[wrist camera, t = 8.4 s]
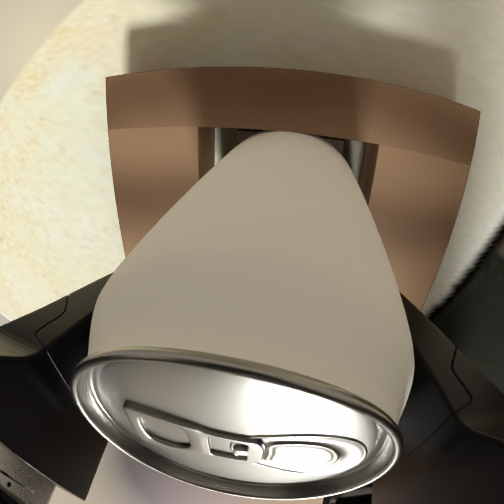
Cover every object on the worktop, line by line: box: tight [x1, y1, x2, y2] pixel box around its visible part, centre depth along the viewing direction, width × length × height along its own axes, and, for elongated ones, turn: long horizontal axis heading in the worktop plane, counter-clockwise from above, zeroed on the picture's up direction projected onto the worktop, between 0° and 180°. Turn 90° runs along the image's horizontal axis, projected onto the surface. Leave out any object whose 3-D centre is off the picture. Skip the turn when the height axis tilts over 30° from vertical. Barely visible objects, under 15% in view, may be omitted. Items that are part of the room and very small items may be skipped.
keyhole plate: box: [106, 67, 480, 311], centre depth 17 cm, size 22×16×2 cm
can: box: [70, 130, 415, 500], centre depth 9 cm, size 6×6×12 cm
